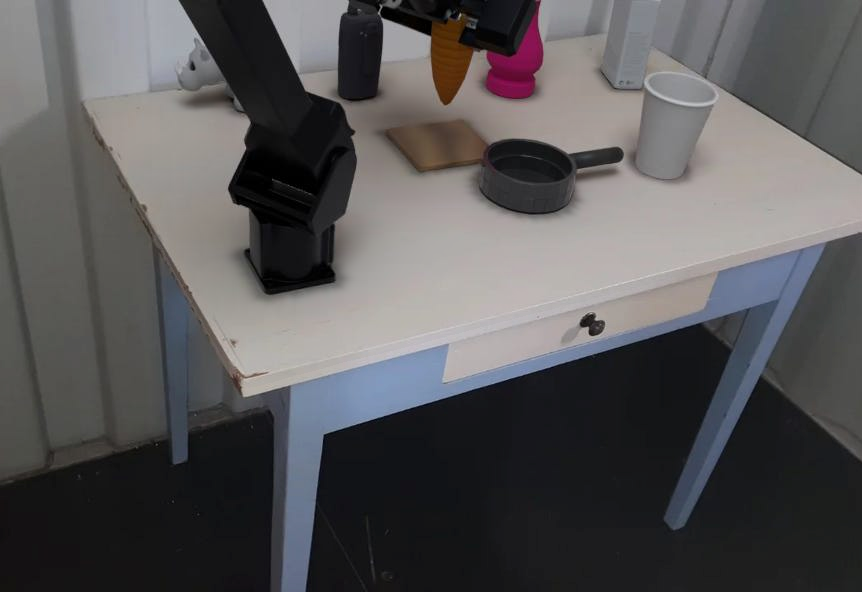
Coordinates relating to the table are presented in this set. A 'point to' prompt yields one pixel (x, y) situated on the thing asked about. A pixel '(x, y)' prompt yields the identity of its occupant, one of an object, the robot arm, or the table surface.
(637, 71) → the cosmetic box
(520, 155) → the pan
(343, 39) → the two-way radio
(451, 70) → the carrot
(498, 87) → the pepper mill
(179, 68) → the toy rhinoceros
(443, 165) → the wooden board
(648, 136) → the dixie cup
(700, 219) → the table surface
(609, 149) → the pan handle
